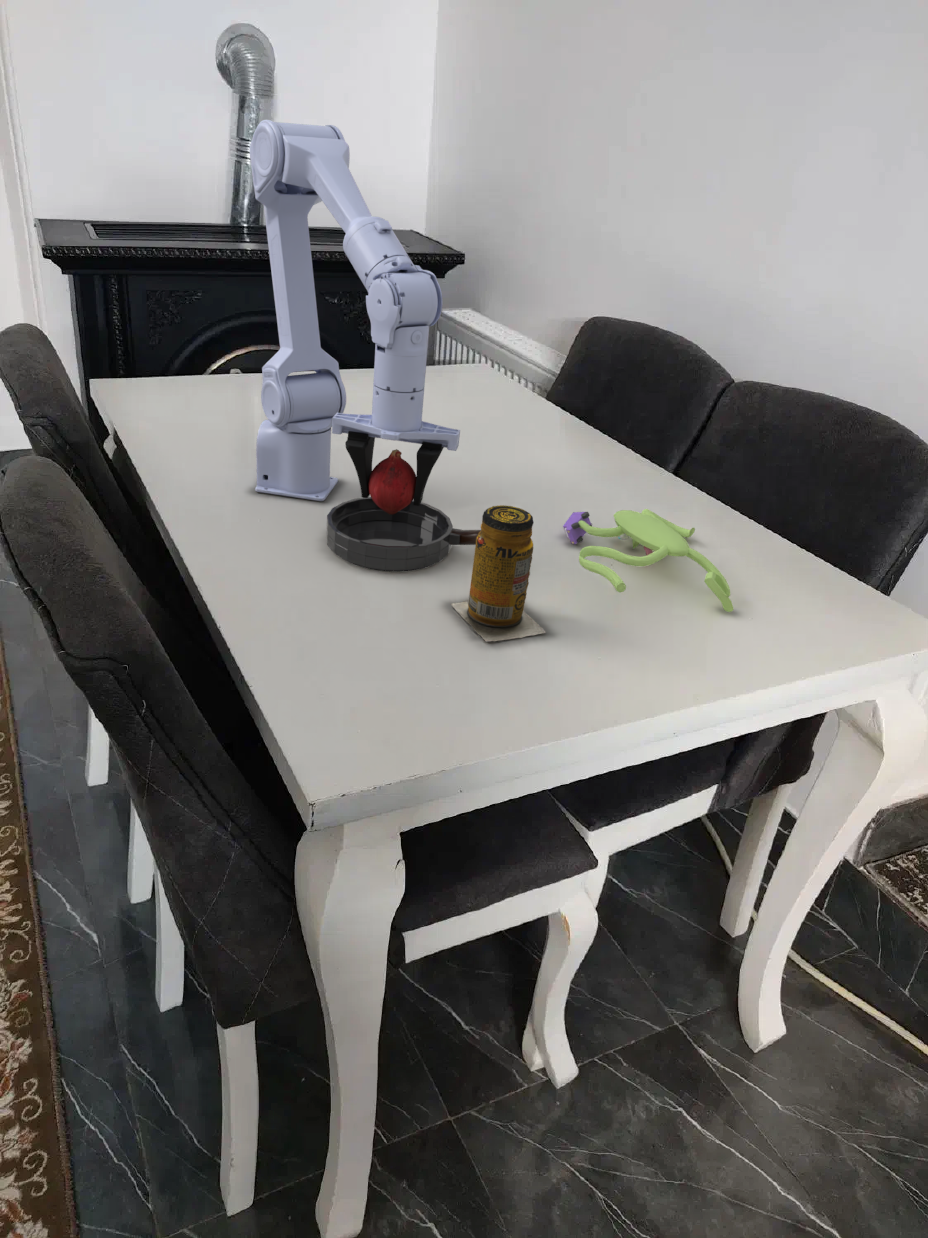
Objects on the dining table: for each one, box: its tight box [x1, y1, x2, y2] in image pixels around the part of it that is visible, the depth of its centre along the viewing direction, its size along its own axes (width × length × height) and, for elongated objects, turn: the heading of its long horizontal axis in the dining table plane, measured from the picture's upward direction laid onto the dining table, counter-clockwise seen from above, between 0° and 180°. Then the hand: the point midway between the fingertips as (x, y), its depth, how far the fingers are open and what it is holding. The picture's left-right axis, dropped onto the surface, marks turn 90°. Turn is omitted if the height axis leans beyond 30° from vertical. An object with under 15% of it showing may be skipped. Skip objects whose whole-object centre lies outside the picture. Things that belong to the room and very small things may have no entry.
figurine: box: [562, 508, 734, 613], centre depth 113 cm, size 18×27×6 cm
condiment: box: [450, 504, 547, 642], centre depth 96 cm, size 7×8×12 cm
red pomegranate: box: [369, 448, 417, 514], centre depth 108 cm, size 6×6×8 cm
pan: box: [326, 496, 454, 573], centre depth 112 cm, size 15×15×3 cm
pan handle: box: [449, 527, 481, 546], centre depth 110 cm, size 10×2×3 cm, turn 82°
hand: (391, 498), depth 109 cm, fingers closed on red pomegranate, 5 cm apart
